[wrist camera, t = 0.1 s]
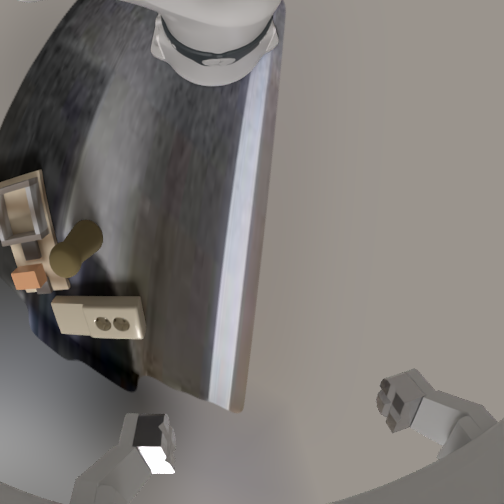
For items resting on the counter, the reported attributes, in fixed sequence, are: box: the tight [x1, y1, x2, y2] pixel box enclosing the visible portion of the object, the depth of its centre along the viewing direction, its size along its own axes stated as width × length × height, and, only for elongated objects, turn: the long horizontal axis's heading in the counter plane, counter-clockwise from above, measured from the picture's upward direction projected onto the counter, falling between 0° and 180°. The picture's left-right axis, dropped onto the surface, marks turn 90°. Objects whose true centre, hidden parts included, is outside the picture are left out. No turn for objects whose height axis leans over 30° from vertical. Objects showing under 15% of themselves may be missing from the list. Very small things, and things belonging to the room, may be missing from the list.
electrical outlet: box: [51, 296, 146, 339], centre depth 49 cm, size 7×4×18 cm
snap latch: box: [11, 263, 47, 290], centre depth 41 cm, size 3×6×3 cm, turn 93°
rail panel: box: [0, 169, 71, 294], centre depth 41 cm, size 22×11×4 cm, turn 3°
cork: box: [49, 220, 103, 278], centre depth 39 cm, size 6×6×11 cm
